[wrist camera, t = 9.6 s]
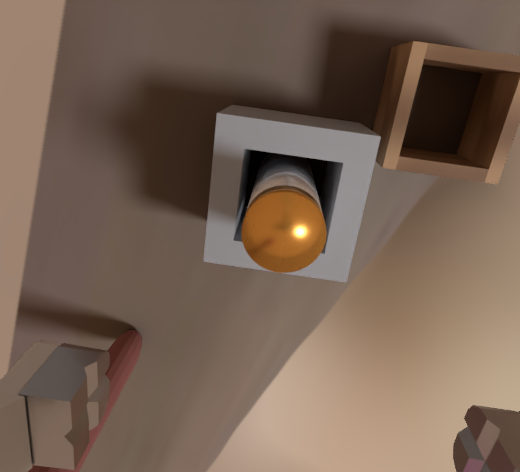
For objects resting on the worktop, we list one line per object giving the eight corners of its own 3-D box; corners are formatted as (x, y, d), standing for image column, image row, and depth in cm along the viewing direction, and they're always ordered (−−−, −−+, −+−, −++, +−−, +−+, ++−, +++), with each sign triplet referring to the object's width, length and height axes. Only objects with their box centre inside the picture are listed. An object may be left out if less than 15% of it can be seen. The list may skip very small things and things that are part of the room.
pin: (261, 145, 30) (246, 187, 19) (316, 153, 30) (334, 200, 19) (254, 198, 31) (236, 266, 20) (307, 205, 31) (318, 278, 20)
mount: (391, 46, 27) (413, 40, 22) (497, 61, 27) (542, 59, 22) (367, 153, 30) (382, 167, 25) (464, 167, 29) (497, 184, 25)
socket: (232, 104, 29) (216, 112, 22) (359, 122, 29) (381, 136, 22) (220, 224, 32) (203, 261, 26) (334, 240, 32) (346, 282, 26)
